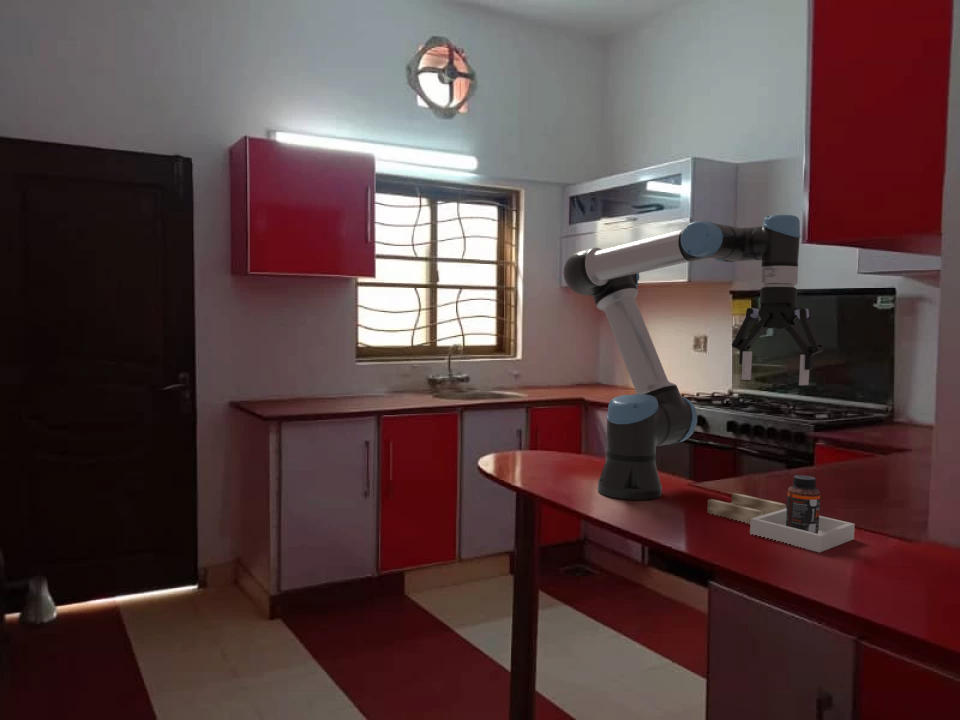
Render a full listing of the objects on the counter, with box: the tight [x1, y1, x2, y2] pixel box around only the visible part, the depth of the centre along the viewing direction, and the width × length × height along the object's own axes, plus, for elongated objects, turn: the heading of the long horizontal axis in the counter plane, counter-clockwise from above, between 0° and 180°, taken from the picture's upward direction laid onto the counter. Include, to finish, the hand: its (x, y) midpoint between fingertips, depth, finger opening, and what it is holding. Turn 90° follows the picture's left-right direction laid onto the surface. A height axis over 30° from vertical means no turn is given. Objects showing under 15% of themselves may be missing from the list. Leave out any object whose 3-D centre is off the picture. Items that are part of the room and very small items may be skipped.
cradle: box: [707, 492, 787, 525], centre depth 161 cm, size 12×11×3 cm
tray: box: [749, 507, 855, 553], centre depth 146 cm, size 14×14×3 cm
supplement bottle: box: [786, 474, 821, 534], centre depth 146 cm, size 6×6×11 cm
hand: (774, 382), depth 165 cm, fingers open, 13 cm apart
